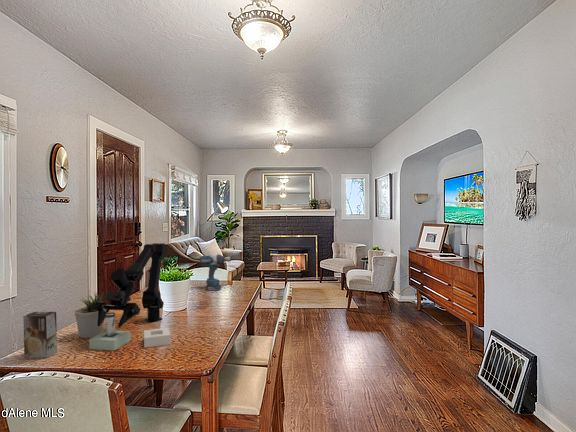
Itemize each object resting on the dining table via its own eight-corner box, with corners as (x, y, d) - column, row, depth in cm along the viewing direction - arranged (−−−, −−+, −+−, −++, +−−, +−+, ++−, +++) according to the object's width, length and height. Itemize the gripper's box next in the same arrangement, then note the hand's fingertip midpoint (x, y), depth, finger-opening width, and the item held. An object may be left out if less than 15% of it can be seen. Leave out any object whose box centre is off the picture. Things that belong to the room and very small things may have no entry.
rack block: (107, 339, 154) (107, 330, 154) (130, 340, 152) (130, 331, 152) (89, 349, 143) (89, 339, 143) (114, 350, 141) (114, 340, 141)
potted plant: (71, 342, 150) (71, 295, 149) (76, 332, 162) (76, 289, 162) (105, 338, 155) (104, 292, 154) (107, 329, 167) (107, 286, 167)
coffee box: (58, 351, 140) (57, 311, 140) (47, 358, 134) (46, 316, 134) (34, 351, 140) (34, 311, 140) (22, 358, 134) (22, 316, 134)
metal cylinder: (106, 343, 149) (106, 312, 149) (116, 342, 150) (115, 312, 150) (105, 346, 145) (104, 315, 145) (114, 345, 146) (114, 314, 146)
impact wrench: (230, 291, 246) (230, 255, 246) (198, 291, 246) (198, 255, 246) (232, 288, 254) (232, 253, 254) (201, 288, 254) (201, 253, 254)
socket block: (144, 339, 153) (144, 330, 153) (168, 336, 157) (168, 327, 157) (144, 347, 144) (144, 338, 144) (170, 344, 148) (170, 334, 148)
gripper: (96, 282, 152) (77, 315, 142) (136, 284, 150) (120, 317, 139) (108, 296, 160) (91, 328, 150) (146, 298, 158) (132, 331, 147)
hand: (108, 326), depth 146 cm, fingers open, 9 cm apart
